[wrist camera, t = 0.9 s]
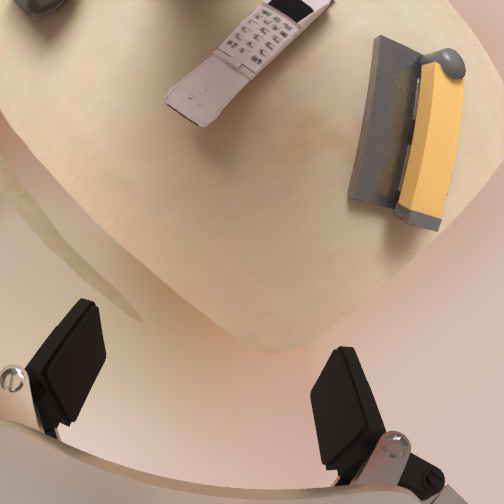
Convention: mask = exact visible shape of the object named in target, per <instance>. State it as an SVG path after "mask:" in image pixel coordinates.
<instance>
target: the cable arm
mask: <svg viewBox="0 0 504 504" xmlns="http://www.w3.org/2000/svg"><path fill="white" fill-rule="evenodd" d="M420 66H421V70H422V72H421V83H420V92H419V101H418V108H417V115H416V122H415V128H414V134H413V139H412V145H411V150H410V155H409V160H408V164H407V169H406V173H405V177H404V182H403V186H402V190H401V194H400V197H399V201H398V202H397V204H396V207H395V211H394V215H395V216H397V217H398V218H400V219H401V220H403V221H404V222H406V223H407V224H411V225H415V226H418V227H422V228H426V229H429V230H433V231H437V232H438V229H439V226H440V223H441V220H442V219H440V218H441V214H442V211H443V207H444V204H445V200H446V196H447V193H448V189H449V185H450V180H451V176H452V172H453V167H454V162H455V157H456V152H457V146H458V140H459V133H460V126H461V118H462V109H463V98H464V82H465V80H464V79H462V78H463V77H464V76H465V72H466V69H465V64H464V62H463V60H462V58H461V56H460V55H459V54H458V53H457V52H456V51H455V50H453V49H450V48H446V49H443V50H440V51H437V52H433V53H430V54H427V55H424V56H423V57H422V58H421V60H420Z"/></svg>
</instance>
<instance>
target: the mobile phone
mask: <svg viewBox="0 0 504 504" xmlns="http://www.w3.org/2000/svg"><path fill="white" fill-rule="evenodd" d="M331 1H332V0H265V1H264V2H263V3H262V4H260V5H259V6H258V7H257V8H256V9H255V10H254V11H253V12H251V13H250V14H249V15H248V16H247V17H246V18H245V19H244V20H243V21H242V22H241V23H240V24H239V25H238V26H237V27H236V28H235V29H234V30H233V31H232V33H231V34H230V35H229V36H228V37H227V38H226V39H225V40H224V41H223V42H222V43H221V45H220V46H219V47H218V48H217V49H216V50H214V52H213V54H212V55H211V56H210V57H208V58H207V59H206V60H205V61H203V62H202V63H201V64H200V65H198V66H197V67H196V68H195V69H193V70H192V71H191V72H190V73H189V74H188V75H186V76H185V77H184V78H183V79H182V80H181V81H179V82H178V83H175V84H174V85H173V86H172V87H171V88H170V89H169V90H168V93H167V94H166V95H165V96H164V97H163V100H164V102H165V103H166V104H167V105H168V106H169V107H171V108H172V109H174V110H175V111H176V112H178V113H179V114H180V115H182V116H183V117H185V118H186V119H188V120H189V121H191V122H193V123H194V124H196V125H197V126H199V127H206V126H207V125H208V124H209V123H210V122H211V121H214V120H215V119H216V118H217V117H218V116H219V115H220V112H221V111H222V110H223V109H224V107H225V106H226V105H227V104H228V103H229V102H230V101H231V100H232V99H233V98H234V97H235V95H236V94H237V93H238V92H239V91H240V90H241V89H242V88H243V87H244V86H245V85H246V84H247V83H248V82H249V81H250V80H253V79H254V78H255V76H256V75H257V74H258V73H259V72H260V71H261V70H262V69H263V68H265V67H266V66H267V65H268V64H269V63H270V62H271V61H272V60H273V59H274V58H276V57H277V56H278V55H279V54H280V53H281V52H282V51H283V50H284V49H285V48H286V47H287V46H288V45H289V44H290V43H291V42H292V41H293V40H294V39H295V38H296V37H297V36H299V35H300V34H301V33H302V32H303V31H304V30H305V29H306V28H307V27H308V26H309V25H310V24H311V23H312V22H313V21H314V20H315V19H316V18H317V17H318V16H319V15H320V14H321V13H322V12H323V11H324V10H325V9H326V8H327V7H328V6H329V4H330V2H331Z"/></svg>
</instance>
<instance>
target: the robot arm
mask: <svg viewBox="0 0 504 504" xmlns="http://www.w3.org/2000/svg"><path fill="white" fill-rule="evenodd" d="M105 359H106V350H105V345H104V340H103V335H102V328H101V321H100V314H99V309H98V307H97V306H96V305H95V303H94V302H93V301H90V300H86V299H83V298H81V299H80V300H79V301H78V302H77V303H76V304H75V305H74V306H73V308H72V309H71V310H70V311H69V312H68V314H67V315H66V316H65V317H64V319H63V320H62V321H61V322H60V323H59V325H58V326H56V327H55V329H54V330H53V331H52V333H51V334H50V335H49V336H48V338H47V339H46V340H45V342H44V343H43V344H42V346H41V347H40V348H39V350H38V351H37V352H36V354H35V355H34V357H33V358H32V359H31V361H30V362H29V364H28V365H27V366H26V368H25V369H24V368H22V367H20V366H18V365H9V366H6V367H5V368H3V369H2V370H1V371H0V504H468V503H467V502H466V501H465V500H464V499H463V498H462V497H461V496H460V495H459V494H458V493H456V491H455V490H453V488H452V487H450V486H449V484H447V485H446V486H445V485H444V483H445V477H444V474H443V472H442V471H441V470H440V469H439V468H437V467H435V466H434V465H432V464H430V463H428V462H426V461H425V460H423V459H421V458H419V457H417V456H416V455H414V454H412V453H410V452H411V445H410V442H409V440H408V439H407V437H406V436H405V435H403V434H402V433H400V432H397V431H389V432H386V430H385V427H384V424H383V421H382V419H381V415H380V413H379V410H378V407H377V404H376V402H375V399H374V396H373V394H372V391H371V388H370V386H369V384H368V381H367V380H366V377H365V374H364V372H363V369H362V367H361V364H360V362H359V359H358V357H357V355H356V352H355V350H354V348H353V347H342V346H340V347H338V348H337V350H333V352H332V354H331V356H330V357H329V359H328V361H327V363H326V365H325V367H324V369H323V370H322V372H321V374H320V376H319V378H318V380H317V382H316V383H315V385H314V387H313V389H312V390H311V395H310V398H311V404H312V409H313V415H314V420H315V425H316V431H317V437H318V443H319V449H320V455H321V461H322V464H324V465H326V470H337V471H338V477H337V479H336V480H335V481H334V483H333V484H332V485H331V487H326V488H312V489H291V490H262V489H241V488H229V487H219V486H211V485H203V484H197V483H191V482H185V481H180V480H175V479H170V478H166V477H161V476H157V475H153V474H149V473H145V472H141V471H138V470H135V469H131V468H128V467H125V466H122V465H119V464H116V463H113V462H110V461H107V460H104V459H101V458H99V457H96V456H94V455H91V454H88V453H86V452H84V451H81V450H79V449H76V448H74V447H72V446H70V445H67V444H65V443H63V442H61V439H60V436H59V433H58V430H57V427H58V425H59V423H62V424H64V425H66V426H70V424H71V422H75V420H76V419H77V417H78V415H79V413H80V410H81V408H82V406H83V404H84V402H85V400H86V398H87V396H88V394H89V392H90V390H91V388H92V385H93V384H94V382H95V379H96V378H97V376H98V374H99V372H100V370H101V368H102V366H103V364H104V362H105Z"/></svg>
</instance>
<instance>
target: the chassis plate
mask: <svg viewBox="0 0 504 504" xmlns="http://www.w3.org/2000/svg"><path fill="white" fill-rule="evenodd" d="M423 56H424V55H422V54H420V53H418V52H416V51H414V50H412V49H410V48H408V47H406V46H404V45H402V44H400V43H398V42H395V41H393V40H391V39H389V38H386V37H384V36H382V35H380V36H378V37H377V38H375V39H374V46H373V56H372V64H371V72H370V80H369V87H368V94H367V100H366V106H365V112H364V118H363V124H362V129H361V135H360V140H359V145H358V150H357V155H356V160H355V164H354V169H353V173H352V178H351V182H350V186H349V191H348V196H350V197H351V198H353V199H357V200H361V201H365V202H369V203H373V204H377V205H381V206H385V207H389V208H392V209H395V207H396V204H397V202H398V201H399V197H400V194H401V190H402V186H403V182H404V177H405V173H406V169H407V164H408V160H409V155H410V150H411V145H412V139H413V134H414V128H415V122H416V115H417V108H418V101H419V92H420V83H421V72H422V70H421V66H420V60H421V58H422V57H423Z"/></svg>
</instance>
